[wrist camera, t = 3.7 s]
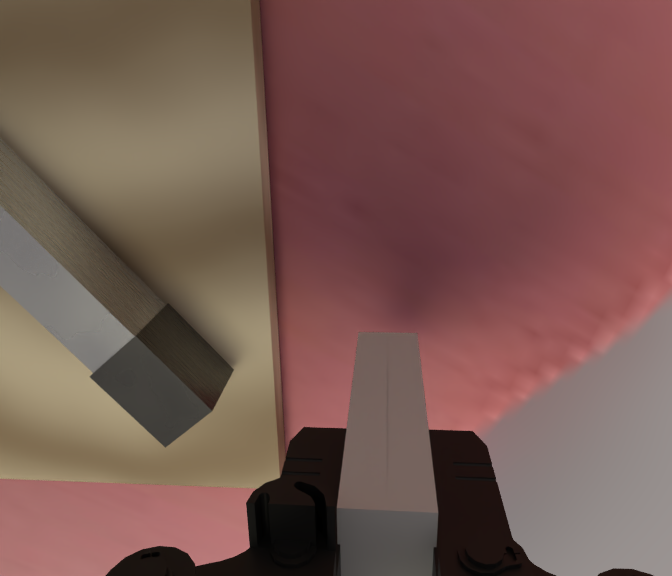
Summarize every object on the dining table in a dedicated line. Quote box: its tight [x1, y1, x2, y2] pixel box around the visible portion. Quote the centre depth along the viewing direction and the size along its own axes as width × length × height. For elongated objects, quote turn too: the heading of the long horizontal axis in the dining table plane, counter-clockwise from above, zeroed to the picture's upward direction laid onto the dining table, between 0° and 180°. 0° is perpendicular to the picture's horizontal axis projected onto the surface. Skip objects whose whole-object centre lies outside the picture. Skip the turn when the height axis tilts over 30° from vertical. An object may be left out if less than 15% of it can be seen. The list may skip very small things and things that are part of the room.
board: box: [0, 0, 286, 488], centre depth 18 cm, size 19×17×1 cm
